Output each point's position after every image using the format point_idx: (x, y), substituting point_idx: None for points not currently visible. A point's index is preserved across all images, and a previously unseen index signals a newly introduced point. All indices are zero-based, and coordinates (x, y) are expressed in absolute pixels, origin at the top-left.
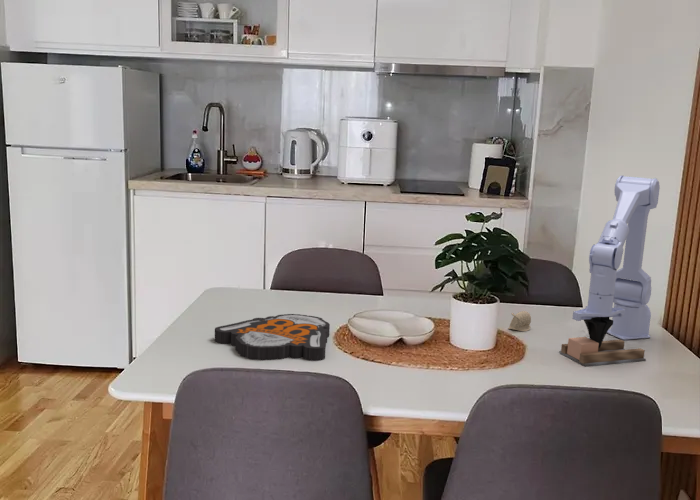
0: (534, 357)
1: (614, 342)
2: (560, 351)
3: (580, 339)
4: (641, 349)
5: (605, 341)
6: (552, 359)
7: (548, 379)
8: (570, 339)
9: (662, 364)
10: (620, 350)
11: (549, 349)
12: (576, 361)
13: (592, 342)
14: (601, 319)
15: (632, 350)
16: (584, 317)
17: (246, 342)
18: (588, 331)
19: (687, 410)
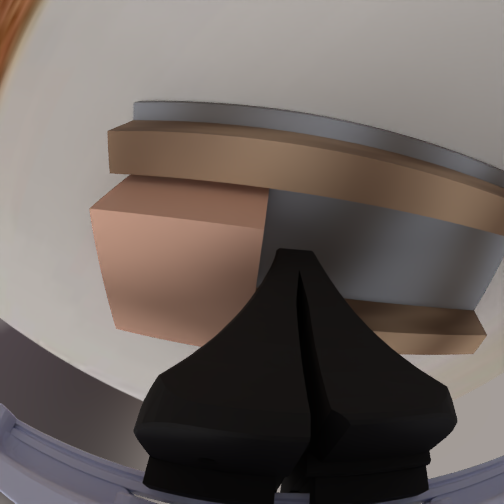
0: (10, 142)
1: (500, 233)
2: (135, 113)
3: (164, 264)
4: (475, 345)
5: (475, 203)
6: (60, 182)
7: (13, 310)
8: (95, 228)
9: (457, 360)
10: (388, 337)
11: (128, 32)
12: None
13: (211, 335)
14: (299, 491)
15: (434, 348)
16: (70, 469)
17: None
18: (243, 309)
19: None
